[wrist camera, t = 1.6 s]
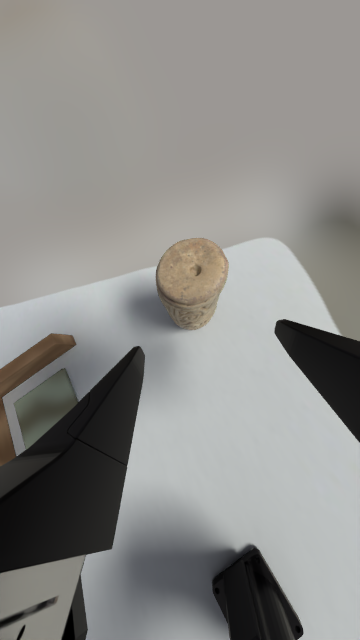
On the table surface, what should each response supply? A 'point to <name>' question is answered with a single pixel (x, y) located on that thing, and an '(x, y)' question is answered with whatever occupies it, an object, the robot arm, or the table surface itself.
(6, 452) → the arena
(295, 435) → the table surface
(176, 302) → the carving
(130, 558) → the table surface
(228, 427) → the table surface
